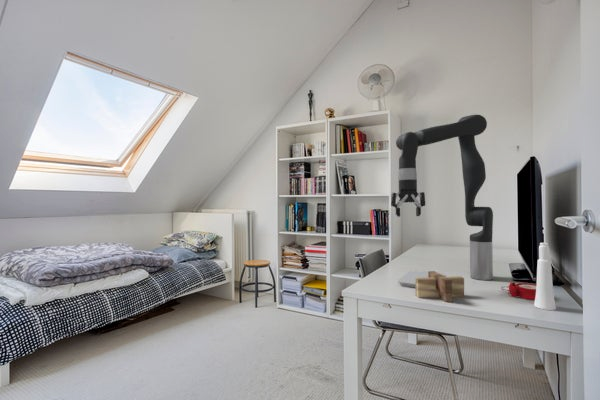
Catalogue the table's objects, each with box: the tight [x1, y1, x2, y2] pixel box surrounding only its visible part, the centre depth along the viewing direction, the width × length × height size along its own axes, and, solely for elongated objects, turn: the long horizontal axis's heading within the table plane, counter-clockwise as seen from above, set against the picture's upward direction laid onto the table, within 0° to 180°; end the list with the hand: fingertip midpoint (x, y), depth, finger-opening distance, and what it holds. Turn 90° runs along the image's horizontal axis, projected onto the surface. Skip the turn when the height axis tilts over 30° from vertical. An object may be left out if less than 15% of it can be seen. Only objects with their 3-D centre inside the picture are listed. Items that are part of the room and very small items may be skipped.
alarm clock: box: [500, 282, 537, 301], centre depth 123 cm, size 10×6×15 cm
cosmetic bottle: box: [533, 242, 557, 311], centre depth 110 cm, size 6×6×22 cm
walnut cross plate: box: [428, 270, 453, 303], centre depth 124 cm, size 14×2×8 cm, turn 2°
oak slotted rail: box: [415, 275, 465, 299], centre depth 125 cm, size 2×18×7 cm, turn 92°
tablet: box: [397, 269, 447, 289], centre depth 146 cm, size 16×26×2 cm, turn 146°
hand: (408, 216), depth 140 cm, fingers open, 8 cm apart
